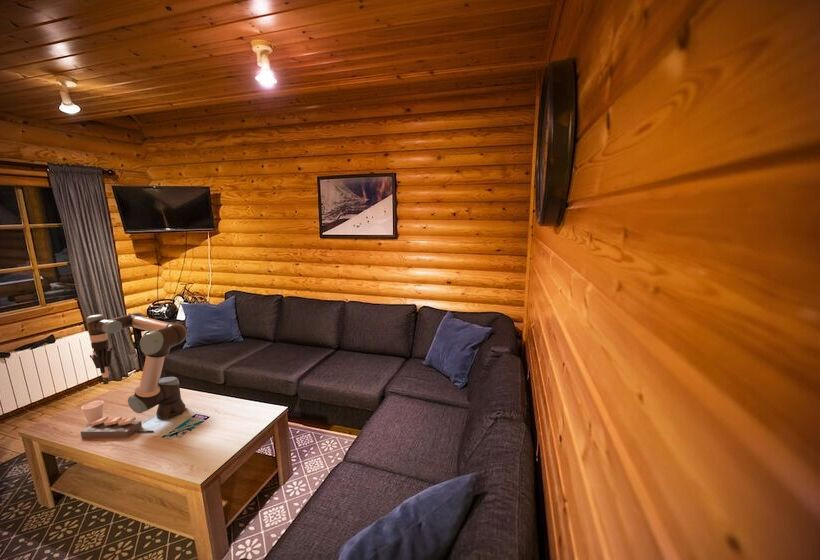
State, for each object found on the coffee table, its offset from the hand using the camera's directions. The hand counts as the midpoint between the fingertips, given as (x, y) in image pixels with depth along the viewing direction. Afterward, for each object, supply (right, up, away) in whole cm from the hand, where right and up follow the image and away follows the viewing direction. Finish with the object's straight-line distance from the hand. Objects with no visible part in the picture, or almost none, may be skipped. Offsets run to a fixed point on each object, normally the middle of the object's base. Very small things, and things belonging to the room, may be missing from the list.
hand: (105, 377), depth 203 cm
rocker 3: (+22, -22, -11) cm, 33 cm away
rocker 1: (+6, -22, -11) cm, 26 cm away
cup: (-6, -27, 0) cm, 28 cm away
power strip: (+19, -29, -11) cm, 36 cm away
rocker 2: (+14, -22, -11) cm, 29 cm away
